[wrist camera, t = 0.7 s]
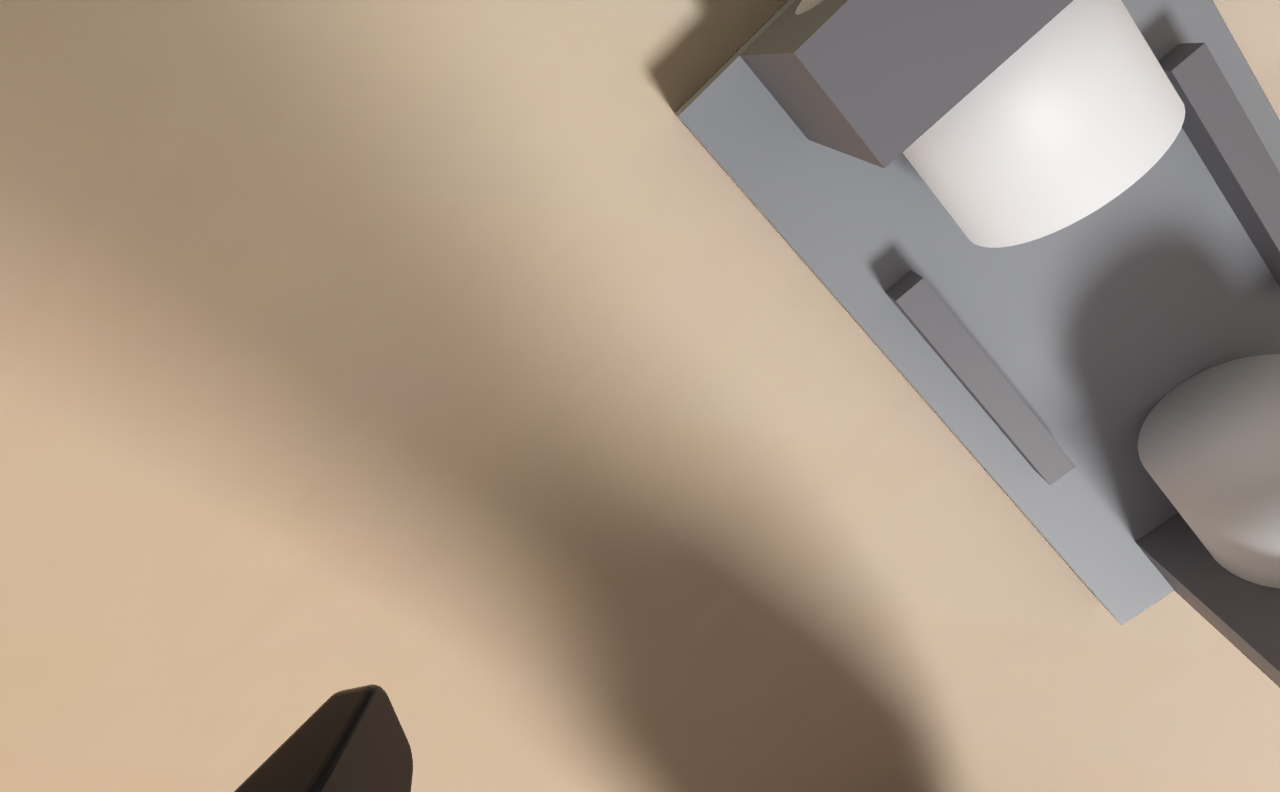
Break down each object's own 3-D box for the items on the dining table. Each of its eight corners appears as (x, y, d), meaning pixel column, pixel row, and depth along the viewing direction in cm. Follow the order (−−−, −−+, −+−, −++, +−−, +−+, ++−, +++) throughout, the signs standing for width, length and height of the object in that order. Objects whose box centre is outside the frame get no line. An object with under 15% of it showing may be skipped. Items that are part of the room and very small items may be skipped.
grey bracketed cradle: (1408, 399, 22) (1687, 516, 16) (1102, 604, 25) (1253, 767, 19) (1037, -247, 16) (1281, -420, 10) (674, 113, 18) (707, 136, 13)
